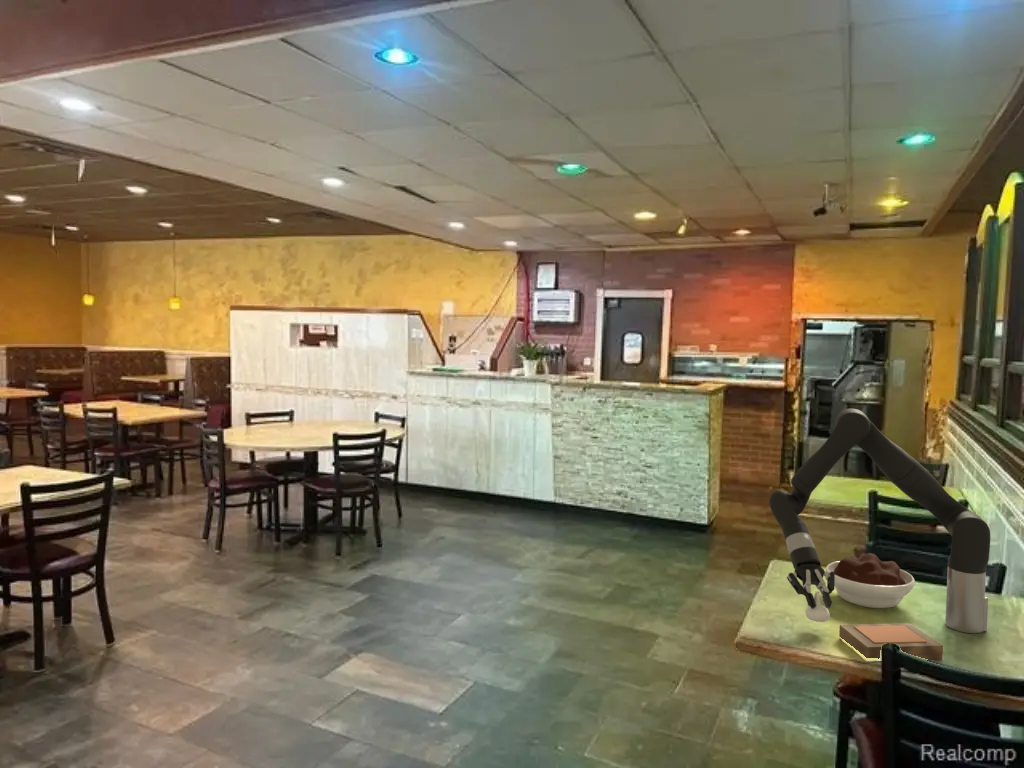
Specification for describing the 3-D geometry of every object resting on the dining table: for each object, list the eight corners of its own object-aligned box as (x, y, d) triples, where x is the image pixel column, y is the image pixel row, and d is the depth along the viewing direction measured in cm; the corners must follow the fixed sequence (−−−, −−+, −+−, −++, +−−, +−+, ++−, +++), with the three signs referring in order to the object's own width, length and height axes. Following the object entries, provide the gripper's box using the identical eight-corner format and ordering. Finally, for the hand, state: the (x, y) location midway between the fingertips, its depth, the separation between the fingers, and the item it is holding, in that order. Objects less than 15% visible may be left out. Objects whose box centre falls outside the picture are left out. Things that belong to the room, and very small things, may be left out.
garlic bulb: (827, 617, 200) (827, 589, 200) (831, 623, 194) (831, 595, 194) (804, 615, 202) (804, 587, 202) (807, 621, 196) (807, 593, 196)
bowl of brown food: (927, 620, 206) (929, 570, 205) (838, 615, 210) (839, 566, 209) (895, 590, 230) (897, 545, 229) (815, 586, 234) (817, 542, 233)
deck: (909, 637, 194) (909, 623, 194) (942, 660, 180) (943, 645, 180) (839, 638, 193) (839, 624, 193) (867, 662, 179) (867, 647, 179)
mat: (903, 626, 192) (903, 625, 192) (926, 642, 182) (926, 641, 182) (854, 627, 191) (854, 626, 191) (874, 643, 181) (874, 642, 181)
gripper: (782, 546, 204) (801, 602, 192) (830, 544, 204) (851, 601, 193) (775, 558, 209) (792, 613, 198) (821, 557, 210) (841, 612, 199)
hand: (821, 607), depth 196 cm, fingers closed on garlic bulb, 3 cm apart
